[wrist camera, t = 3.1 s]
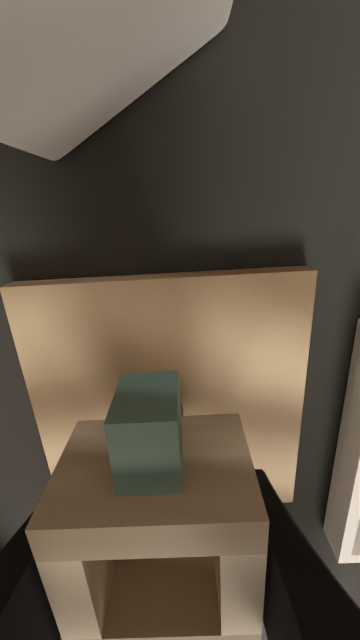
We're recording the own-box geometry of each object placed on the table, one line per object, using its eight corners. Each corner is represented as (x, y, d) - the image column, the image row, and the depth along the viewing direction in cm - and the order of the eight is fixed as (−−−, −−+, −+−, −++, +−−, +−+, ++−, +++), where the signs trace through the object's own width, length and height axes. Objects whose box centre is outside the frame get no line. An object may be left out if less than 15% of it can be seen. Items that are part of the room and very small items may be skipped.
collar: (237, 526, 11) (260, 656, 8) (101, 531, 11) (69, 661, 8) (239, 355, 9) (274, 442, 5) (65, 363, 9) (-2, 454, 5)
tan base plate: (286, 485, 16) (335, 616, 11) (67, 493, 17) (16, 626, 11) (307, 265, 12) (403, 310, 7) (12, 281, 12) (-111, 336, 7)
